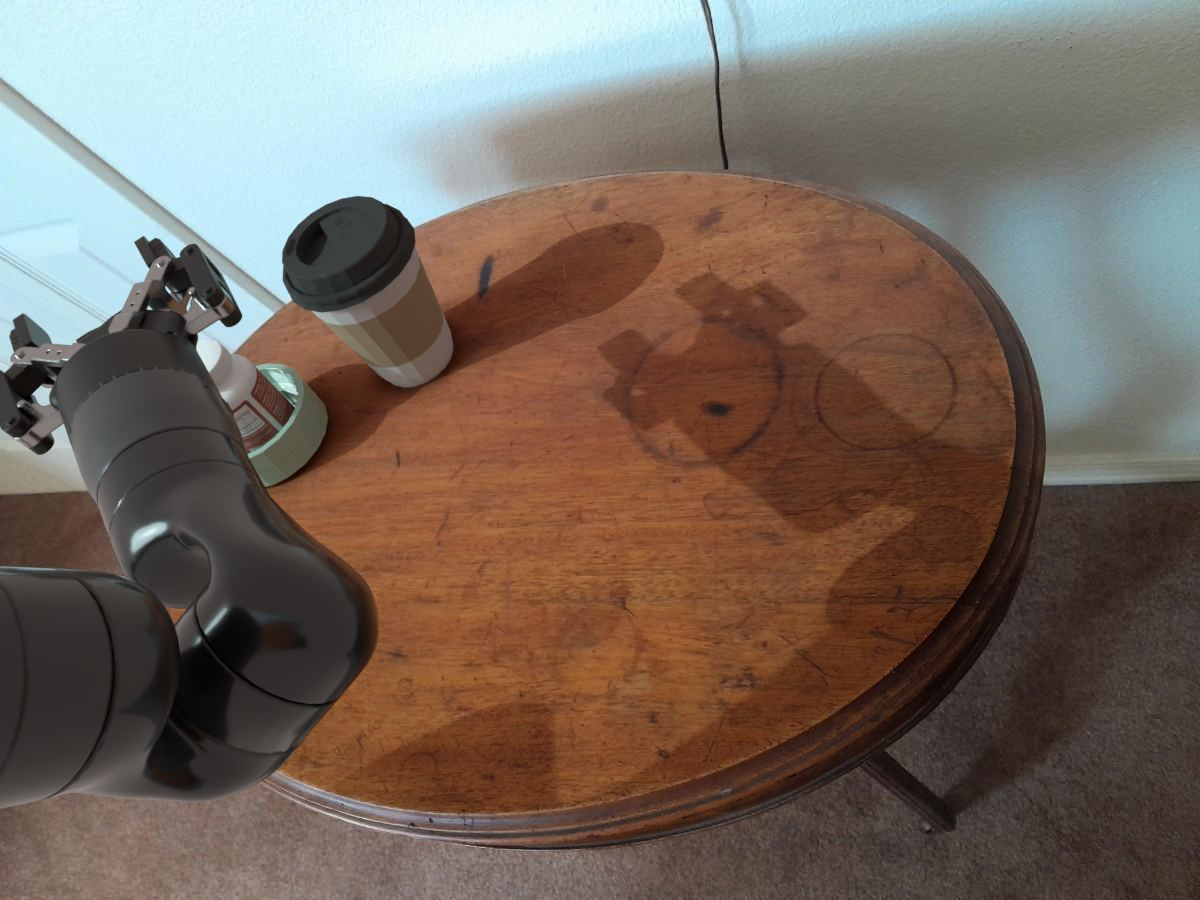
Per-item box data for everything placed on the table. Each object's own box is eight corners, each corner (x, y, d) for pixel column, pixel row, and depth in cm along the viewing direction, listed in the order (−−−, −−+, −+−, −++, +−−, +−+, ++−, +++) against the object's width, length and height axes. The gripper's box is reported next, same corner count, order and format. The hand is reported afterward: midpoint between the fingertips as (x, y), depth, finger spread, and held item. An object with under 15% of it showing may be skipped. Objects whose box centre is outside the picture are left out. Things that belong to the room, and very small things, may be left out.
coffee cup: (368, 326, 83) (281, 206, 72) (478, 299, 81) (407, 171, 69) (354, 418, 77) (256, 303, 65) (473, 392, 75) (393, 268, 63)
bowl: (299, 496, 73) (269, 468, 70) (202, 487, 77) (169, 460, 74) (348, 395, 79) (322, 364, 75) (256, 391, 83) (227, 362, 79)
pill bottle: (272, 403, 80) (195, 324, 72) (318, 417, 77) (245, 337, 69) (231, 457, 78) (146, 382, 69) (277, 473, 75) (196, 398, 66)
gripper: (227, 305, 43) (147, 177, 52) (-30, 477, 41) (-65, 311, 50) (308, 395, 49) (222, 266, 58) (87, 550, 47) (36, 389, 56)
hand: (90, 287), depth 54 cm, fingers open, 8 cm apart
